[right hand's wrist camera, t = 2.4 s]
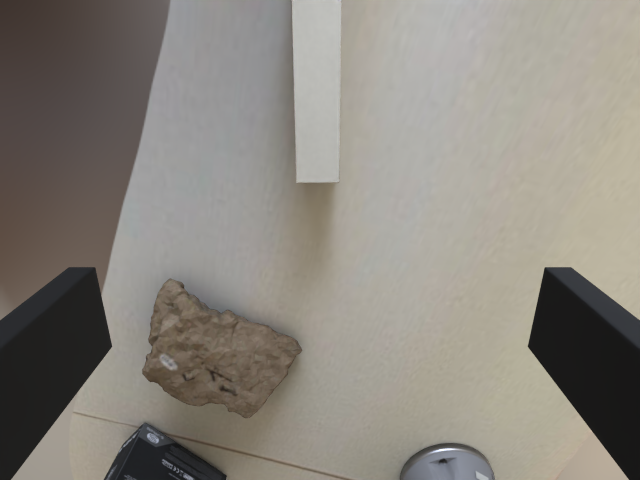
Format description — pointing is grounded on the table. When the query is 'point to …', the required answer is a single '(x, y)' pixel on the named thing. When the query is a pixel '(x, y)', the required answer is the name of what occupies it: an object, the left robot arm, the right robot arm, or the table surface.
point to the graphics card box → (158, 460)
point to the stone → (214, 353)
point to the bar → (317, 89)
